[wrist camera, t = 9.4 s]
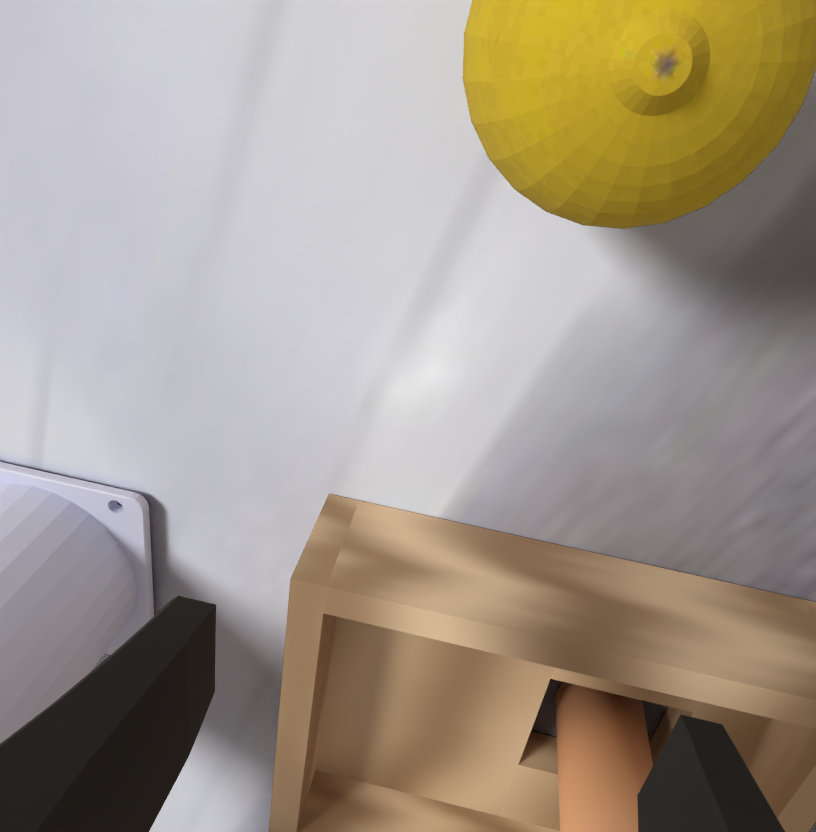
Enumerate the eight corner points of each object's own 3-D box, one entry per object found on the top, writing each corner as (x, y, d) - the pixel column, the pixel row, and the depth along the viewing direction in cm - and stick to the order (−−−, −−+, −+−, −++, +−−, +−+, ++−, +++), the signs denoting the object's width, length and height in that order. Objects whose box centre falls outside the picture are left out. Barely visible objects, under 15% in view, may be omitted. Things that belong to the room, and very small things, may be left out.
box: (300, 745, 29) (267, 843, 25) (328, 494, 22) (290, 578, 19) (688, 841, 28) (710, 957, 24) (837, 606, 21) (896, 718, 18)
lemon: (664, 213, 17) (754, 341, 10) (446, 134, 17) (382, 206, 10) (798, -51, 14) (1055, -134, 7) (537, -148, 14) (537, -328, 7)
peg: (544, 716, 26) (550, 971, 19) (570, 662, 24) (586, 918, 17) (625, 738, 26) (659, 1002, 19) (655, 685, 24) (705, 950, 17)
